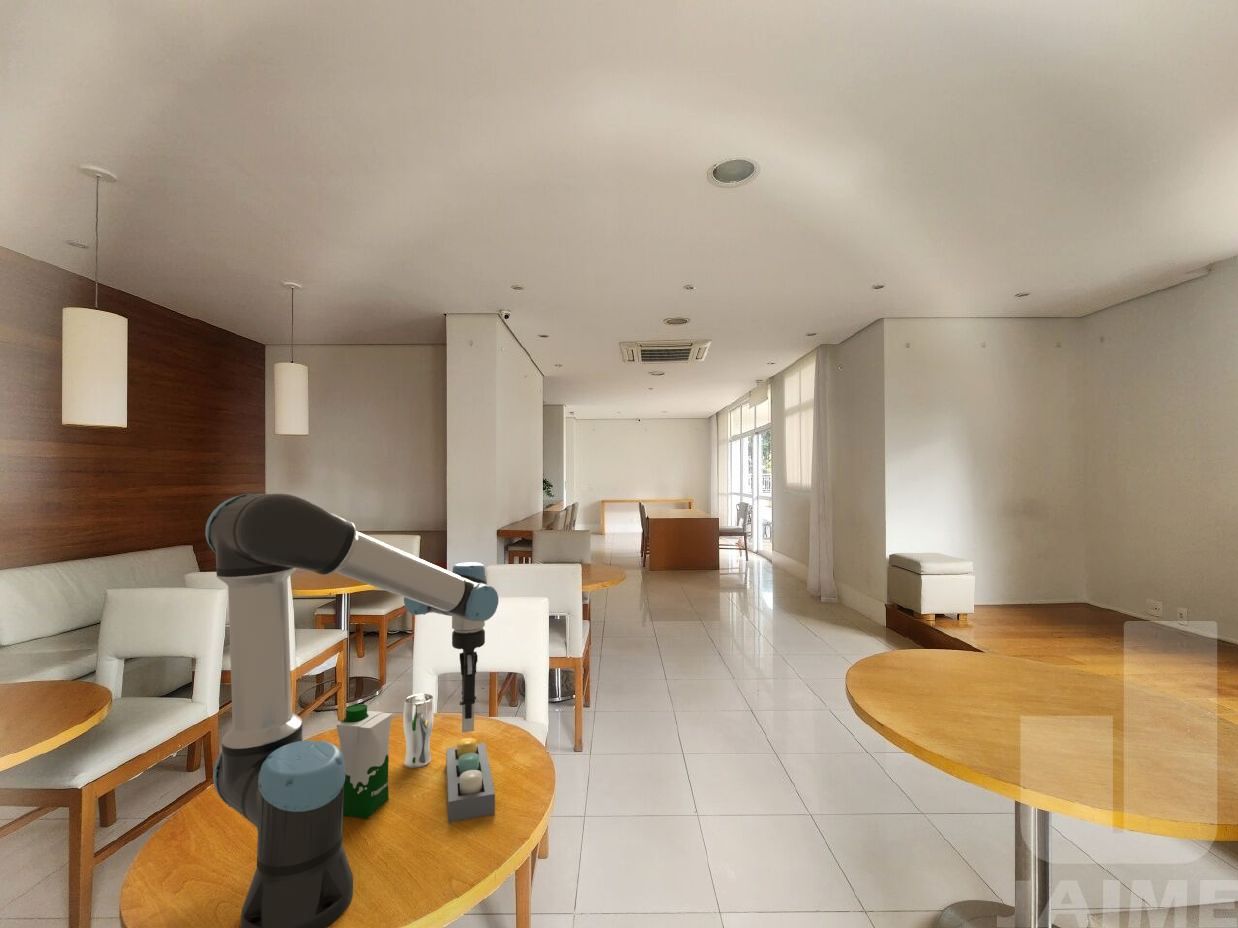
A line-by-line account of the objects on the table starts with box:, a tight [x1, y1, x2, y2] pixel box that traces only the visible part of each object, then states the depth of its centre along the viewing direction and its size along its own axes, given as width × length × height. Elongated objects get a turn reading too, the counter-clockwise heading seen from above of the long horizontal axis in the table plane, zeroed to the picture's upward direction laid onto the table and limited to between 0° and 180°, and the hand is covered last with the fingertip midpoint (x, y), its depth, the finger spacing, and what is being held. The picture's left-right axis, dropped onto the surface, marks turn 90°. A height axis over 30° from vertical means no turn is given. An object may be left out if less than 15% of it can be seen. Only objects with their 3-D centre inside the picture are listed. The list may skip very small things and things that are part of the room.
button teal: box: [458, 753, 479, 776], centre depth 121 cm, size 4×4×3 cm
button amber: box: [456, 737, 478, 759], centre depth 128 cm, size 4×4×3 cm
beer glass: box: [402, 693, 435, 769], centre depth 132 cm, size 7×7×15 cm
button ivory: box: [460, 770, 482, 796], centre depth 113 cm, size 4×4×3 cm
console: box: [445, 742, 496, 824], centre depth 120 cm, size 24×9×4 cm, turn 18°
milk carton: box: [336, 703, 394, 820], centre depth 113 cm, size 9×9×20 cm
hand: (467, 730), depth 129 cm, fingers closed
